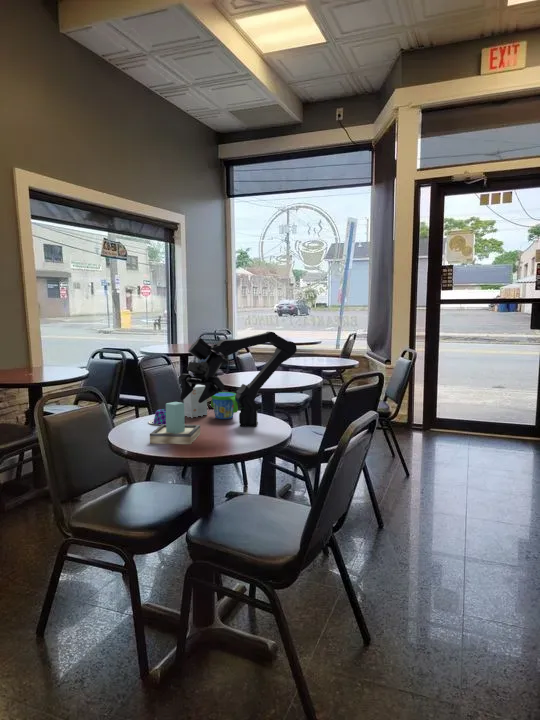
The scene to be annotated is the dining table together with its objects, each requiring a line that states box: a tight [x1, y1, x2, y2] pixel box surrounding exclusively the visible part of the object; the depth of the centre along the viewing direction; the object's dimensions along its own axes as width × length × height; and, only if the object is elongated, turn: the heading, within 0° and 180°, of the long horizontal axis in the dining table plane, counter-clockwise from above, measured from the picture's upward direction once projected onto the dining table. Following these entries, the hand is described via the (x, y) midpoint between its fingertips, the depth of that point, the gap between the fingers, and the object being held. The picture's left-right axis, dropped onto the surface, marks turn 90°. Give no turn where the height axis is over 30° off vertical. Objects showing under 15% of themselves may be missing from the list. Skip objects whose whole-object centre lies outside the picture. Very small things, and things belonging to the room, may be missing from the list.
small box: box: [183, 384, 208, 419], centre depth 201 cm, size 8×6×13 cm
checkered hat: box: [148, 408, 166, 426], centre depth 190 cm, size 12×12×5 cm
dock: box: [149, 424, 201, 445], centre depth 165 cm, size 14×14×3 cm
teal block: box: [165, 401, 186, 434], centre depth 164 cm, size 4×4×10 cm
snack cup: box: [210, 391, 239, 420], centre depth 197 cm, size 16×10×10 cm
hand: (190, 401), depth 169 cm, fingers open, 9 cm apart
